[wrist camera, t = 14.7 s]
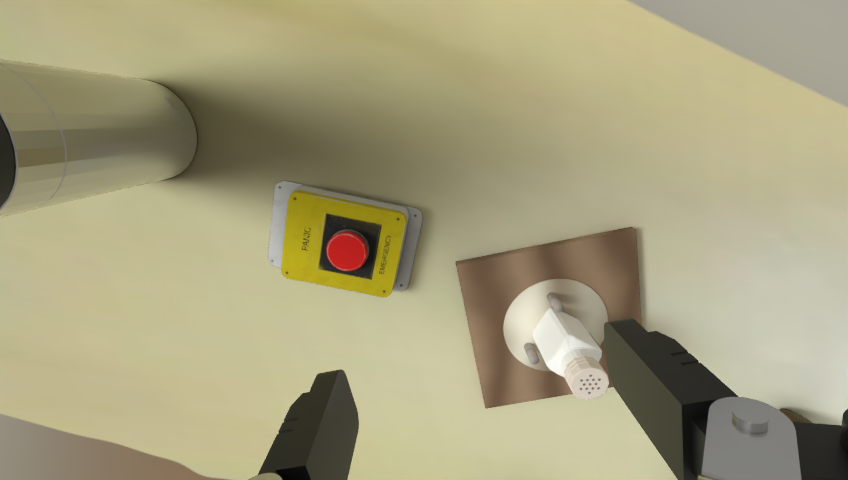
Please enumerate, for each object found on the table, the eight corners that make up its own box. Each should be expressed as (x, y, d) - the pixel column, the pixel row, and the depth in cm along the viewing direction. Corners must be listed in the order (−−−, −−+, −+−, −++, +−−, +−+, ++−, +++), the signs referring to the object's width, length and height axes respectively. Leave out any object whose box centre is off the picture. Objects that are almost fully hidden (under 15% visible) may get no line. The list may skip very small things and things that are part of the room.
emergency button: (404, 309, 38) (251, 279, 37) (406, 290, 42) (268, 263, 42) (424, 219, 36) (259, 185, 35) (424, 208, 40) (277, 177, 39)
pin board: (484, 402, 46) (489, 426, 42) (455, 261, 41) (458, 275, 37) (640, 375, 45) (658, 397, 41) (630, 227, 40) (650, 237, 36)
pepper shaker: (528, 333, 42) (556, 393, 33) (548, 303, 41) (583, 356, 32) (560, 348, 42) (596, 411, 33) (580, 319, 41) (624, 375, 32)
